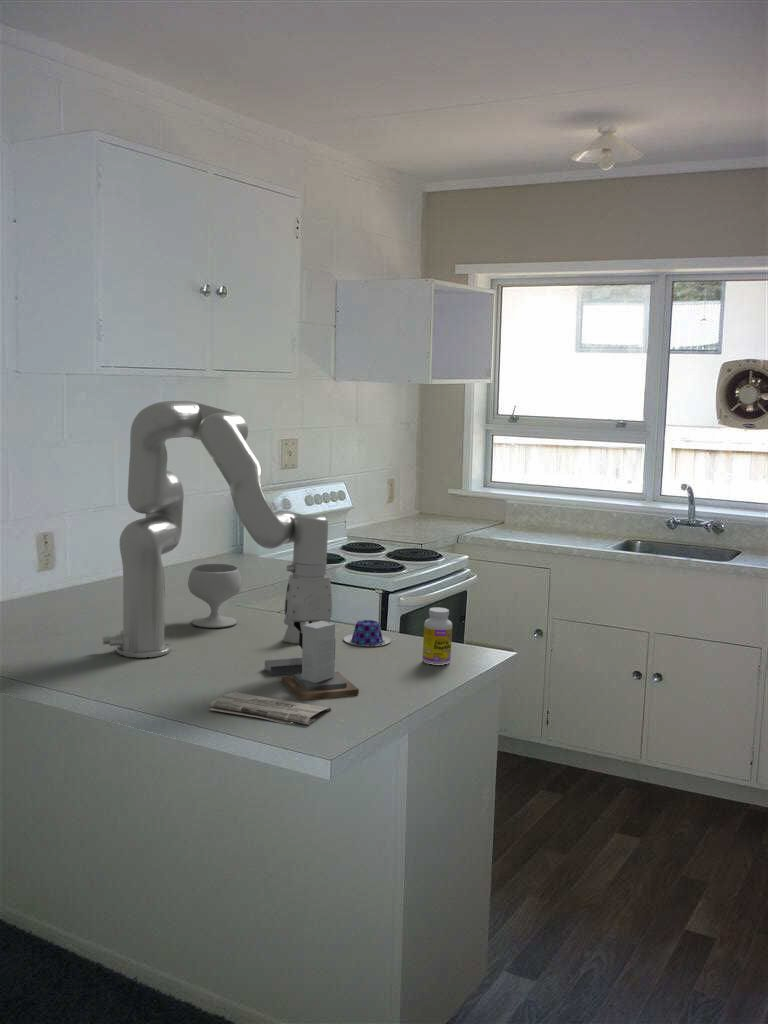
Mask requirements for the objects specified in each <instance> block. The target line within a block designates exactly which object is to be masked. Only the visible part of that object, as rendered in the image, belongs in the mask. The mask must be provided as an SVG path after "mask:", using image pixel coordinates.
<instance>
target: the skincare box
mask: <svg viewBox="0 0 768 1024" xmlns="http://www.w3.org/2000/svg"><path fill="white" fill-rule="evenodd" d="M335 633H336V623H332V622H330V623H329V622H326V621H318V622H314V623H310V624H308V623H306V625H303V642H302V648H301V650H302V651H301V658H302V673H301V674H302V679H303V680H306V681H309V682H312V683H318V682H321V681H324V680H327V679H330V678H333V677H334V672H335V667H334V662H335V660H334V655H335V656H336V638H335V637H336V634H335Z"/></svg>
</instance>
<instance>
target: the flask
mask: <svg viewBox="0 0 768 1024" xmlns="http://www.w3.org/2000/svg"><path fill="white" fill-rule="evenodd" d="M305 624H307V621H306V622H305ZM299 632H300V631H299V630H298V629H297V628H296V627H295V626H289V625H287V628H286V630H285V633H284V635H283V638H282V640H283V642H284V643H288V644H289V643H290V644H299Z"/></svg>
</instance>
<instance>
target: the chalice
mask: <svg viewBox="0 0 768 1024" xmlns="http://www.w3.org/2000/svg"><path fill="white" fill-rule="evenodd" d="M187 587H188V590H189V593H191V594H192V595H193V596H195V597H196V598H198V599H200V600H202V601H203V602H205V603H206V604H207V605H208V606H209V607H210V614H209V615H204V616H199V617H195V618H194V619H192V620H191V621H190V622H191V624H192V625H193V626H196V627H199V628H208V629H216V628H218V629H219V628H227V627H228V628H229V627H232V626H235V625H236V624H238V620H237V619H236V618H234V617H230V616H227V615H226V616H225V615H220V614H219V608H220V607H221V605H222V604H223V603H224V602H226V601H228V600H229V599H231V598H233V597H235V596H237V595H238V593H240V591H241V589H242V576H241V573H240V571H239V568H238V567H237V566H235V565H231V564H225V563H204V564H197V565H195V566H193V567H192V569H191V571H190V573H189V576H188V581H187Z"/></svg>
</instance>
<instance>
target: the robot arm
mask: <svg viewBox="0 0 768 1024" xmlns="http://www.w3.org/2000/svg"><path fill="white" fill-rule="evenodd" d="M130 427H131V428H130V435H129V438H130V440H129V441H130V442H129V443H130V444H129V445H130V446H129V465H128V477H127V478H128V482H127V501H128V502H127V503H128V505H129V506H130V508H131V509H132V510H133V511H135V512H136V513H137V514H138V513H139V514H145V517H142V518H140V519H136V520H134V521H131V522H130V523H128V524H127V525H126V526H125V527H124V528H123V530H122V531H121V534H120V537H119V552H120V556H121V557H120V558H121V562H122V563H121V564H122V579H123V580H122V594H123V597H122V599H123V600H122V601H123V603H122V604H123V608H122V609H123V611H122V613H123V615H122V617H123V618H122V620H123V621H122V623H123V624H122V626H123V628H122V629H123V630H120V633H118V634H116V635H114V636H113V635H112V636H111V635H108V636H107V635H103V636H102V646H103V645H109V647H113V646H116V647H115V648H116V651H117V652H116V653H117V654H118V653H119V654H118V655H120V656H122V655H123V657H127V658H134V657H135V658H138V659H141V658H143V659H146V658H147V657H149V658H155V657H156V658H157V657H160V656H161V657H162V656H165V655H167V654H168V653H170V652H171V650H172V646H171V645H172V644H170V642H167V641H165V622H166V621H165V618H166V616H165V613H166V612H165V610H166V609H165V605H166V604H165V599H166V597H165V596H166V595H165V594H166V588H165V587H166V586H165V584H166V583H165V582H166V581H165V578H166V577H165V569H164V565H163V562H162V555H164V554H168V553H170V552H172V551H174V549H175V548H177V546H178V545H179V543H180V540H181V537H182V532H183V531H182V529H183V518H184V517H183V516H184V513H183V511H184V488H183V484H182V481H181V480H180V478H179V477H178V476H177V475H176V474H175V473H173V472H172V471H169V470H167V469H168V468H167V467H168V451H167V447H166V441H167V440H170V439H179V438H191V439H196V440H199V441H200V442H201V444H202V445H203V447H204V448H205V450H206V451H207V453H208V454H209V456H210V458H211V459H212V460H213V463H214V464H215V465H216V467H217V468H218V470H219V472H220V473H221V475H222V477H223V478H224V479H225V482H226V483H227V484H228V486H229V490H230V491H229V492H230V495H231V500H232V502H233V505H234V509H235V511H236V514H237V516H238V518H239V519H240V521H241V523H242V524H243V526H244V527H245V529H246V530H247V532H248V534H249V535H250V537H251V538H252V539H253V541H254V542H255V543H256V544H257V545H258V546H260V547H262V548H264V549H270V550H271V549H276V548H278V547H281V546H283V545H287V544H291V543H293V553H292V554H293V555H292V556H293V557H292V561H291V564H289V565H287V566H286V571H287V572H290V573H292V574H290V575H289V576H288V577H289V578H288V581H287V587H286V591H285V599H284V619H283V624H284V625H286V626H288V625H289V626H295V627H296V628H297V629H298V630H299V631H300V632H299V643H298V646H299V647H300V649H302V642H303V625H306V624H310V623H314V622H318V621H326V622H329V623H331V618H332V614H333V600H332V599H333V597H332V584H331V576H330V575H327V557H328V556H327V555H328V538H329V537H328V536H329V521H328V518H327V517H325V516H323V515H319V514H301V513H297V512H295V511H294V512H293V511H291V510H290V511H289V510H277V511H273V509H272V507H271V506H270V504H269V503H268V501H267V499H266V497H265V495H264V493H263V491H262V486H261V478H262V465H261V463H260V461H259V460H258V458H257V456H255V453H254V452H253V450H252V449H251V447H250V445H248V443H247V441H246V440H247V439H248V435H249V427H248V424H247V422H246V420H245V419H244V418H243V417H242V416H241V415H240V414H238V413H236V412H234V411H231V410H225V409H222V408H218V407H215V406H210V405H206V404H203V403H200V402H196V401H192V400H167V401H160V402H159V401H158V402H155V403H153V404H150V405H148V406H146V407H144V408H143V409H141V410H140V411H139V412H138V413H137V414H136V416H135V417H134V419H133V421H132V423H131V426H130ZM305 622H306V624H305ZM307 622H308V623H307ZM147 659H148V658H147Z"/></svg>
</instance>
